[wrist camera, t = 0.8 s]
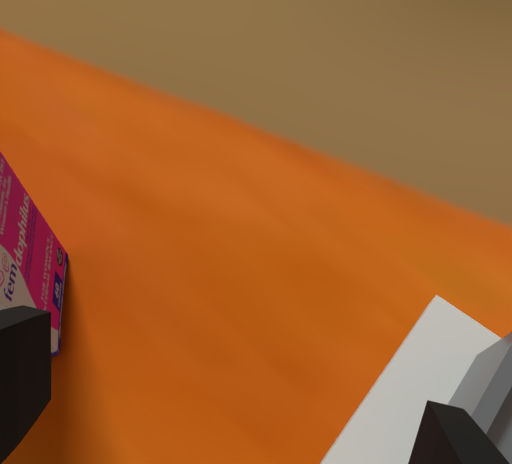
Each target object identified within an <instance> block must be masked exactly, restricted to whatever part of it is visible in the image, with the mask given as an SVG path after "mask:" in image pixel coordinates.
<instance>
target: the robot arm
mask: <svg viewBox="0 0 512 464" xmlns="http://www.w3.org/2000/svg"><path fill="white" fill-rule="evenodd" d="M50 400H51V312H50V311H46V310H42V309H37V308H33V307H29V306H25V305H22V306H17V307H11V308H7V309H3V310H0V464H1V463H2V462H3V461H4V460H5V459H6V458H7V457H8V456H9V454H10V453H11V452H12V451H13V450H14V449H15V448H16V447H17V445H18V444H19V443H20V442H21V440H22V439H23V438H24V436H25V435H26V434H27V432H28V431H29V430H30V428H31V427H32V426H33V424H34V423H35V421H36V420H37V418H38V417H39V416H40V414H41V413H42V411H43V410H44V408H45V407H46V405H47V404H48V402H49V401H50ZM408 464H510V463H509V462H508V461H507V460H506V458H505V457H504V456H503V455H502V453H501V452H500V451H499V450H498V449H497V447H496V446H495V445H494V444H493V443H492V441H491V440H490V439H489V438H488V436H487V435H486V434H485V433H484V432H483V430H482V429H481V428H480V427H479V426H478V424H477V423H476V422H475V421H474V420H473V419H472V417H471V416H470V415H469V414H468V413H467V412H466V411H465V410H464V409H463V408H459V407H455V406H450V405H446V404H442V403H438V402H433V401H429V400H427V403H426V406H425V409H424V413H423V416H422V419H421V423H420V426H419V429H418V433H417V436H416V439H415V443H414V446H413V449H412V453H411V456H410V459H409V462H408Z"/></svg>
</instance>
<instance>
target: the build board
mask: <svg viewBox="0 0 512 464" xmlns="http://www.w3.org/2000/svg"><path fill="white" fill-rule="evenodd" d="M500 339H501V338H500V337H498V336H497V335H495V334H494V333H493V332H491V331H490V330H488V329H487V328H485V327H484V326H482V325H481V324H479V323H478V322H476V321H475V320H473V319H472V318H470V317H469V316H467V315H466V314H464V313H463V312H461V311H460V310H459V309H457V308H456V307H454V306H453V305H451V304H450V303H448V302H447V301H445V300H444V299H442V298H441V297H439V296H438V295H436V296H435V297H434V298H433V299H432V300H431V302H430V303H429V304H428V306H427V307H426V309H425V310H424V312H423V313H422V315H421V316H420V318H419V319H418V320H417V322H416V323H415V325H414V326H413V328H412V329H411V331H410V332H409V334H408V335H407V337H406V338H405V339H404V341H403V342H402V344H401V345H400V347H399V348H398V350H397V351H396V353H395V354H394V356H393V357H392V358H391V360H390V361H389V363H388V364H387V366H386V367H385V369H384V370H383V372H382V373H381V375H380V376H379V377H378V379H377V380H376V382H375V383H374V385H373V386H372V388H371V389H370V391H369V392H368V394H367V395H366V396H365V398H364V399H363V401H362V402H361V404H360V405H359V407H358V408H357V410H356V411H355V413H354V414H353V415H352V417H351V418H350V420H349V421H348V423H347V424H346V426H345V427H344V429H343V430H342V432H341V433H340V434H339V436H338V437H337V439H336V440H335V442H334V443H333V445H332V446H331V448H330V449H329V451H328V452H327V454H326V455H325V456H324V458H323V459H322V461H321V462H320V464H408V462H409V459H410V456H411V453H412V449H413V446H414V443H415V439H416V436H417V433H418V429H419V426H420V423H421V419H422V416H423V413H424V409H425V406H426V403H427V400H429V401H433V402H438V403H442V404H446V405H447V404H448V403H449V401H450V399H451V398H452V396H453V394H454V393H455V391H456V389H457V388H458V386H459V384H460V383H461V381H462V379H463V378H464V376H465V374H466V372H467V371H468V369H469V367H470V366H471V364H472V362H473V361H474V359H475V357H476V356H477V354H479V353H480V352H482V351H484V350H485V349H487V348H488V347H490V346H491V345H493V344H494V343H496V342H497V341H499V340H500Z"/></svg>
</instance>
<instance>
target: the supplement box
mask: <svg viewBox="0 0 512 464" xmlns="http://www.w3.org/2000/svg"><path fill="white" fill-rule="evenodd" d="M67 260H68V254H67V253H66V251H65V250H64V248H63V247H62V245H61V244H60V242H59V241H58V239H57V238H56V236H55V234H54V233H53V231H52V230H51V228H50V227H49V225H48V224H47V222H46V221H45V219H44V218H43V216H42V215H41V213H40V212H39V210H38V209H37V207H36V206H35V204H34V202H33V201H32V199H31V198H30V196H29V195H28V193H27V192H26V190H25V189H24V187H23V186H22V184H21V183H20V181H19V179H18V178H17V176H16V175H15V173H14V171H13V170H12V168H11V167H10V166H9V164H8V163H7V161H6V160H5V158H4V156H3V155H2V153H1V152H0V310H3V309H7V308H11V307H17V306H22V305H25V306H29V307H33V308H37V309H42V310H46V311H50V312H51V356H55V355H58V354H59V352H60V334H61V332H60V330H61V314H62V305H63V294H64V284H65V273H66V268H67Z"/></svg>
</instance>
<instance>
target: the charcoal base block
mask: <svg viewBox="0 0 512 464" xmlns="http://www.w3.org/2000/svg"><path fill="white" fill-rule="evenodd" d="M447 405H450V406H455V407H459V408H463V409H464V410H465V411H466V412H467V413H468V414H469V415H470V416H471V417H472V419H473V420H474V421H475V422H476V423H477V424H478V426H479V427H480V428H481V429H482V430H483V432H484V433H485V434H486V435H487V436H488V438H489V439H490V440H491V441H492V443H493V444H494V445H495V446H496V447H497V449H498V450H499V451H500V452H501V453H502V455H503V456H504V457H505V458H506V460H507V461H508V462H509V463H510V464H512V332H511V333H510V334H508V335H507V336H505V337H504V338H502V339H500V340H499V341H497V342H496V343H494V344H493V345H491V346H490V347H488V348H487V349H485V350H484V351H482V352H480V353H479V354H477V356H476V357H475V359H474V361H473V362H472V364H471V366H470V367H469V369H468V371H467V372H466V374H465V376H464V378H463V379H462V381H461V383H460V384H459V386H458V388H457V389H456V391H455V393H454V394H453V396H452V398H451V399H450V401H449V403H448V404H447Z"/></svg>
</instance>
